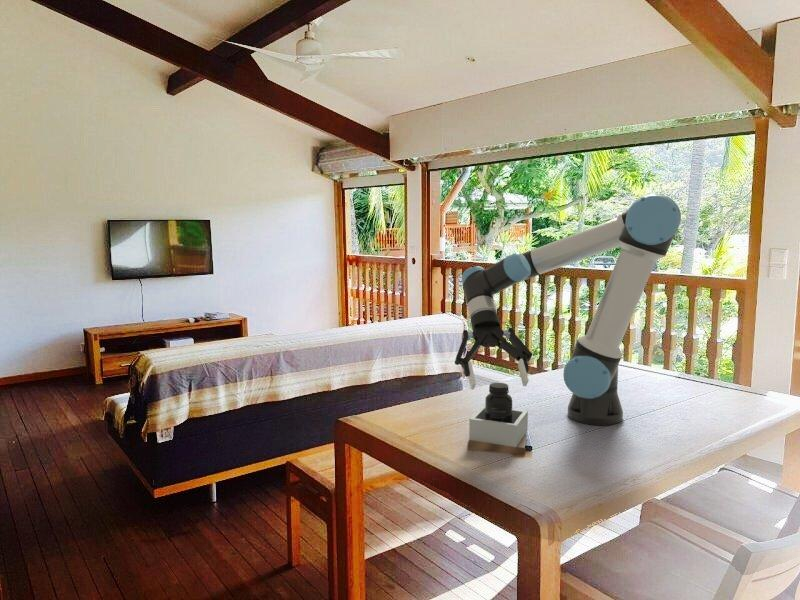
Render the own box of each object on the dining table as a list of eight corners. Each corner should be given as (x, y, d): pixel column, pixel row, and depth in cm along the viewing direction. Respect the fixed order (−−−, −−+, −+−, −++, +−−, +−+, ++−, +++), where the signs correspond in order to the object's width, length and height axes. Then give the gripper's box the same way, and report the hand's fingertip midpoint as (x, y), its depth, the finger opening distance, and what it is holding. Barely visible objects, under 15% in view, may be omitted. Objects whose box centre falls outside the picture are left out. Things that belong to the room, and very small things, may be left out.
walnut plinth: (526, 436, 159) (526, 427, 159) (525, 457, 146) (525, 447, 145) (474, 432, 162) (474, 424, 162) (467, 452, 149) (467, 443, 149)
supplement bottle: (485, 424, 157) (485, 380, 155) (511, 425, 156) (512, 381, 154) (485, 434, 150) (485, 388, 149) (512, 435, 149) (513, 389, 148)
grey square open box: (527, 431, 156) (527, 411, 156) (516, 447, 146) (516, 425, 145) (483, 424, 162) (483, 405, 161) (469, 439, 151) (469, 418, 150)
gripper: (524, 322, 167) (543, 389, 154) (436, 326, 164) (449, 395, 151) (531, 306, 161) (551, 374, 148) (440, 310, 158) (453, 380, 145)
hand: (499, 385), depth 150 cm, fingers open, 13 cm apart
